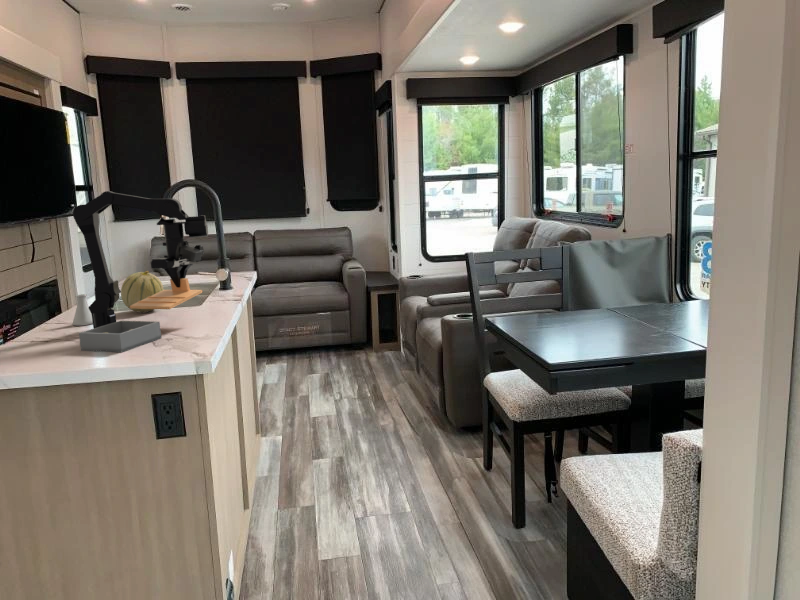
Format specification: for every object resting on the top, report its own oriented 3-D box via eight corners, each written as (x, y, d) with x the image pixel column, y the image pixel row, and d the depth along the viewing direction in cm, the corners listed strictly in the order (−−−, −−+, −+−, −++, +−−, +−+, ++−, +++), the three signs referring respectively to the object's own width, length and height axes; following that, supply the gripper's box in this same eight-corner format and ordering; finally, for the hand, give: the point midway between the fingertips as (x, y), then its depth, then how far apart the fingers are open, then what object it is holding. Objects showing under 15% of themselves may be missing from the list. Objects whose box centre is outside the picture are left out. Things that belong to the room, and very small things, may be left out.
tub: (81, 350, 175) (78, 332, 174) (122, 336, 190) (120, 320, 189) (122, 352, 171) (119, 334, 170) (161, 338, 186) (159, 321, 185)
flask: (68, 326, 211) (63, 296, 209) (85, 321, 218) (81, 292, 216) (84, 326, 208) (80, 296, 207) (101, 322, 215) (97, 293, 213)
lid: (130, 310, 193) (126, 293, 192) (165, 293, 208) (162, 277, 207) (170, 311, 189) (166, 293, 187) (203, 294, 204) (199, 277, 202)
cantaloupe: (131, 309, 237) (126, 269, 235) (171, 306, 238) (166, 267, 236) (116, 317, 223) (111, 274, 220) (159, 314, 224) (154, 272, 221)
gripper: (177, 240, 190) (182, 292, 193) (213, 235, 208) (218, 282, 210) (146, 241, 194) (152, 291, 196) (185, 236, 211) (190, 282, 214)
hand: (180, 286), depth 204 cm, fingers closed on lid
